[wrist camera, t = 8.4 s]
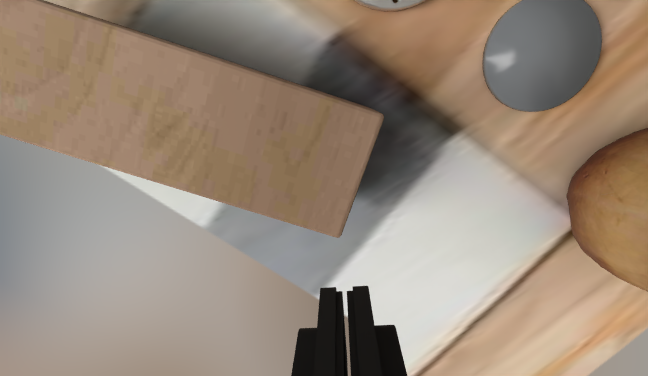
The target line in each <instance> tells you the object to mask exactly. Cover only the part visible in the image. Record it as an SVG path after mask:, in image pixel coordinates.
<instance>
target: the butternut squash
mask: <svg viewBox="0 0 648 376" xmlns="http://www.w3.org/2000/svg"><path fill="white" fill-rule="evenodd" d="M567 200H568V205H569V212H570V219H571V227H572V233H573V236H574V238H575V239H576V241H577V242H578V244H579V246H580V247H581V249H582V250H583V251H584V252H585V253H586V254H587V255H588V256H589V257H591V258H592V259H593V260H594V261H595V262H597V263H598V264H599V265H600V266H601V267H602V268H604V269H606V270H607V271H609V272H610V273H612V274H613V275H615V276H616V277H618V278H620V279H622V280H624V281H626V282H628V283H630V284H632V285H634V286H636V287H639V288H641V289H643V290H646V291H648V128H647V129H643V130H640V131H637V132H634V133H632V134H629V135H627V136H625V137H622V138H620V139H618V140H616V141H614V142H613V143H611V144H609V145H607V146H605V147H603V148H602V149H600V150H598V151H597V152H596V153H595V154H593V155H592V156H591V157H590V158H589V159H588V160H587V161H586V162H585V163H584V164H583V165H582V166H581V167H580V168H579V169H578V171H577V172H576V173H575V174H574V176H573V177H572V180H571V182H570V185H569V189H568V193H567Z"/></svg>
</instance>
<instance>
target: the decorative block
mask: <svg viewBox="0 0 648 376" xmlns="http://www.w3.org/2000/svg"><path fill="white" fill-rule="evenodd" d="M383 120H384V115H383V114H382V113H380V112H378V111H376V110H373V109H371V108H369V107H366V106H363V105H360V104H357V103H354V102H351V101H348V100H345V99H342V98H339V97H336V96H333V95H330V94H327V93H324V92H321V91H318V90H315V89H312V88H309V87H306V86H302V85H299V84H296V83H293V82H290V81H287V80H284V79H281V78H278V77H275V76H272V75H269V74H266V73H263V72H260V71H257V70H254V69H251V68H248V67H245V66H242V65H239V64H236V63H233V62H230V61H227V60H224V59H221V58H218V57H215V56H212V55H209V54H206V53H203V52H200V51H197V50H194V49H191V48H188V47H185V46H182V45H179V44H176V43H173V42H170V41H167V40H164V39H161V38H158V37H154V36H151V35H148V34H145V33H142V32H139V31H136V30H133V29H130V28H127V27H124V26H121V25H118V24H115V23H112V22H109V21H106V20H103V19H100V18H96V17H93V16H90V15H87V14H84V13H81V12H78V11H75V10H72V9H69V8H66V7H63V6H60V5H56V4H53V3H50V2H47V1H44V0H0V134H1V135H4V136H8V137H10V138H14V139H17V140H20V141H24V142H27V143H30V144H33V145H37V146H40V147H43V148H46V149H50V150H53V151H56V152H59V153H63V154H66V155H69V156H72V157H76V158H79V159H82V160H85V161H89V162H92V163H95V164H99V165H102V166H105V167H108V168H112V169H115V170H118V171H121V172H125V173H128V174H131V175H134V176H138V177H141V178H144V179H147V180H151V181H154V182H157V183H160V184H164V185H167V186H170V187H174V188H177V189H180V190H183V191H187V192H190V193H193V194H196V195H200V196H203V197H206V198H209V199H213V200H216V201H219V202H222V203H226V204H229V205H232V206H235V207H239V208H242V209H245V210H249V211H252V212H255V213H258V214H262V215H265V216H268V217H271V218H275V219H278V220H281V221H284V222H288V223H291V224H294V225H297V226H301V227H304V228H307V229H311V230H314V231H317V232H320V233H324V234H327V235H330V236H333V237H337V238H339V237H340V236H341V235H342V232H343V229H344V226H345V224H346V221H347V218H348V215H349V213H350V210H351V207H352V204H353V202H354V199H355V196H356V194H357V191H358V188H359V185H360V183H361V180H362V177H363V174H364V172H365V169H366V166H367V163H368V161H369V158H370V155H371V152H372V150H373V147H374V144H375V142H376V139H377V136H378V133H379V131H380V128H381V125H382V122H383Z"/></svg>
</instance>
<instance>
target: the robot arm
mask: <svg viewBox="0 0 648 376" xmlns="http://www.w3.org/2000/svg"><path fill="white" fill-rule="evenodd" d="M354 1H355V2H357V3H358V4H361V5H363V6H365V7H368V8H370V9H375V10H381V11H399V10H403V9H407V8H411V7H413V6H415V5H417V4H420V3H422V2H424V1H426V0H398V2H397V3H394V2H393V0H354ZM347 302H348V322H349V343H350V362H351V376H407V373H406V369H405V365H404V361H403V356H402V352H401V348H400V344H399V340H398V336H397V332H396V328H395V326H394V325H379V326H374V320H373V314H372V308H371V301H370V295H369V288H368V286H355V287H353V291H347ZM291 376H348V371H347V350H346V337H345V324H344V310H343V296H342V291H339V292H336V287H333V288H321V289H320V300H319V312H318V326H317V328H301V329H299V332H298V337H297V344H296V350H295V357H294V362H293V369H292V375H291Z"/></svg>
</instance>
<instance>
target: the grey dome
mask: <svg viewBox="0 0 648 376" xmlns="http://www.w3.org/2000/svg"><path fill="white" fill-rule="evenodd" d="M601 43H602V36H601V29H600V24H599V21H598V19H597V17H596V15H595V13H594V11H593V10H592V8H591V7H590V6H589V5H588V4H587V3H586V2H585V1H583V0H522V1H520V2H519V3H517V4H515V5H514V6H513V7H511V8H510V9H509V10H508V11H507V12H506V13H505V14H504V15H502V17H501V18H500V19H499V20H498V21H497V23H496V24H495V26H494V27H493V29H492V31H491V33H490V35H489V37H488V39H487V42H486V44H485V48H484V53H483V74H484V78H485V81H486V84H487V86H488V88H489V90H490V91H491V93H492V94H493V95H494V96H495V98H496V99H497V100H499V101H500V102H501V103H503V104H504V105H506V106H508V107H510V108H512V109H516V110H520V111H529V112H533V111H543V110H547V109H551V108H554V107H556V106H558V105H560V104H562V103H564V102H566V101H567V100H569V99H570V98H572V97H573V96H574V95H575V94H576V93H578V92H579V91H580V89H581V88H582V87H583V86H584V85H585V84H586V82H587V81H588V80H589V78H590V77H591V75H592V73H593V72H594V69H595V67H596V65H597V62H598V59H599V56H600V51H601Z"/></svg>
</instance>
